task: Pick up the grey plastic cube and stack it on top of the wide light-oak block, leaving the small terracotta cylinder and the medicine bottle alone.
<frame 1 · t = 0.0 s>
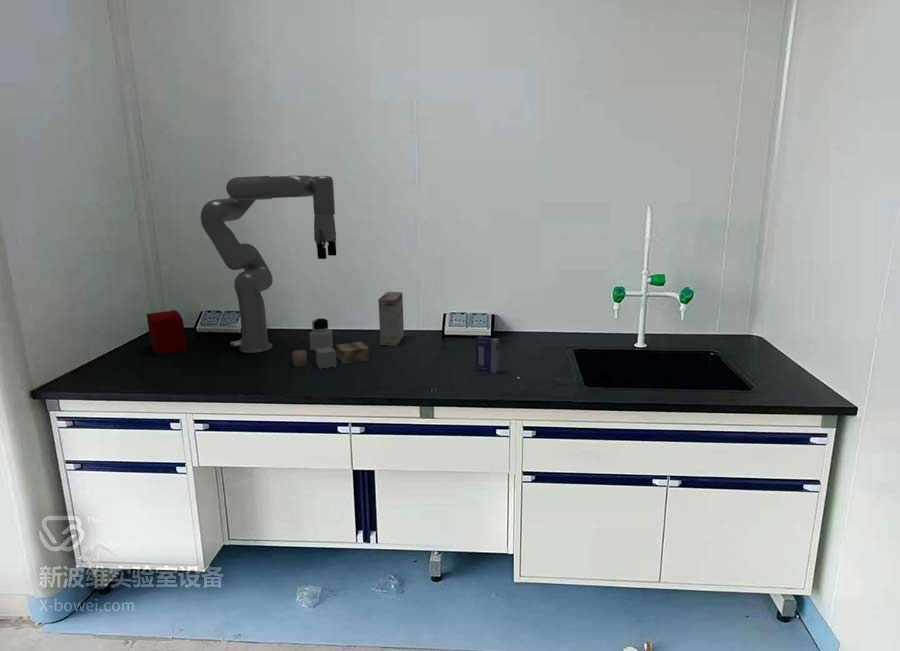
hand: (327, 257, 215), 37 cm above the worktop, tool pointing down, fingers open, 9 cm apart
terracotta cylinder: (300, 365, 209), on the worktop
walkman: (487, 371, 201), on the worktop
grey cube: (326, 365, 208), on the worktop
oak block: (353, 359, 216), on the worktop
coffeecake box: (392, 341, 239), on the worktop
medicine bottle: (321, 349, 229), on the worktop
fire alarm: (169, 349, 231), on the worktop
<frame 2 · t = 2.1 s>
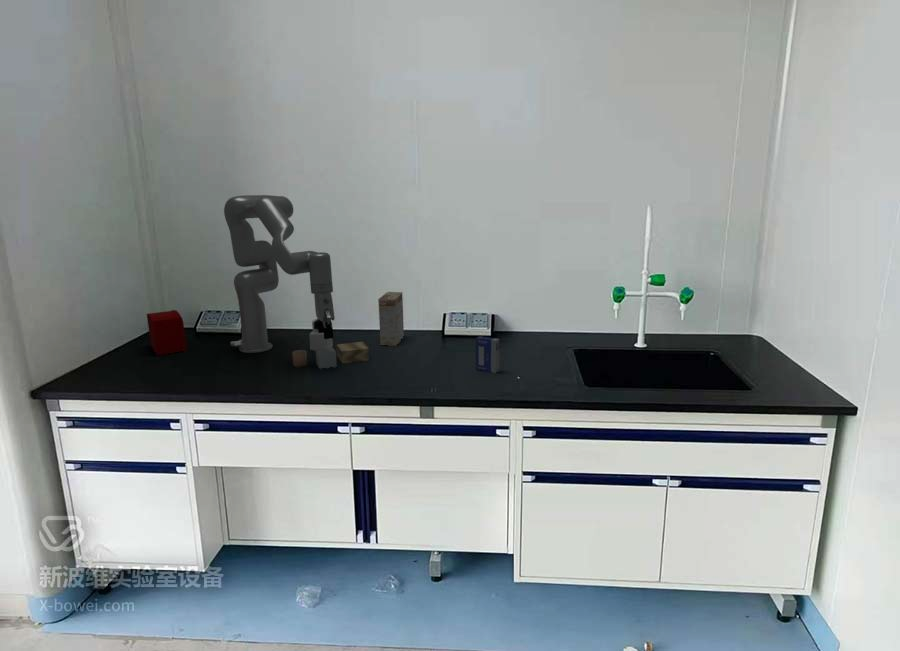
hand: (325, 335, 205), 11 cm above the worktop, tool pointing down, fingers open, 9 cm apart
nothing on the worktop moved.
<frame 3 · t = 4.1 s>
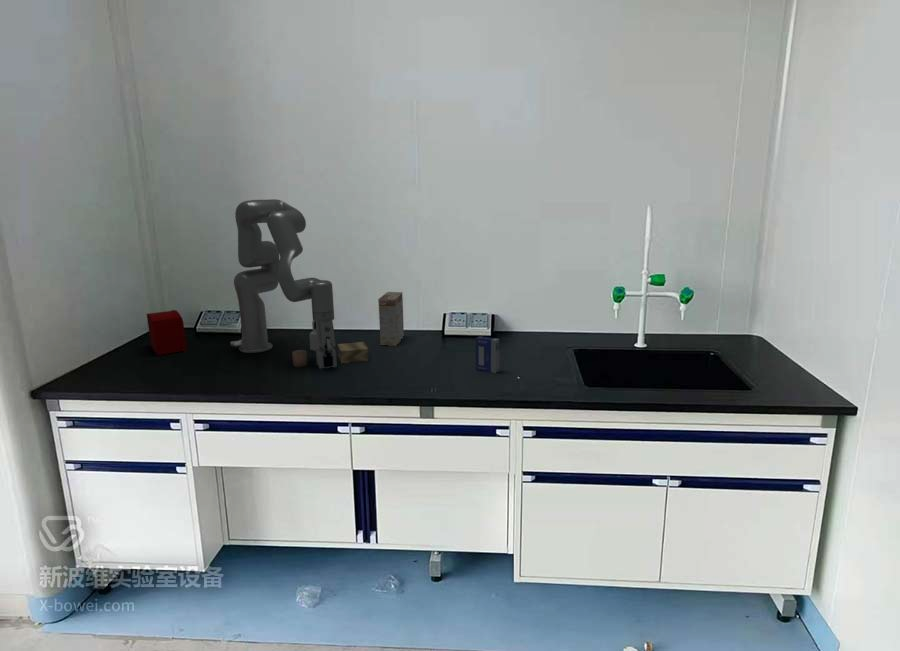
hand: (326, 363, 207), 1 cm above the worktop, tool pointing down, fingers closed on grey cube, 6 cm apart
grey cube: (326, 365, 208), on the worktop, touching gripper
everything else where it was.
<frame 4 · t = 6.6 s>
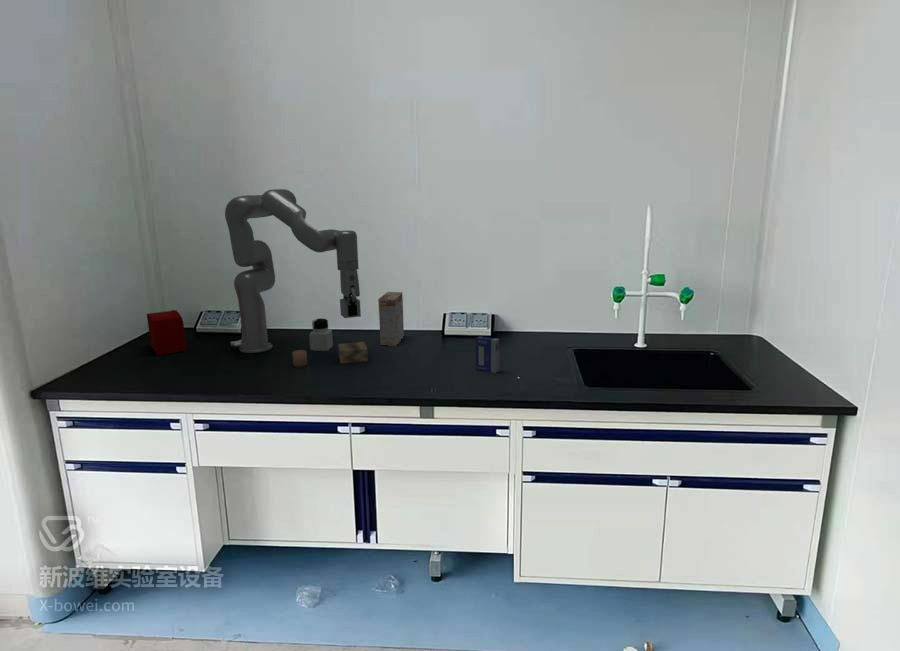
hand: (350, 313, 212), 17 cm above the worktop, tool pointing down, fingers closed on grey cube, 6 cm apart
grey cube: (350, 315, 212), point 17 cm above the worktop, touching gripper
everything else where it was.
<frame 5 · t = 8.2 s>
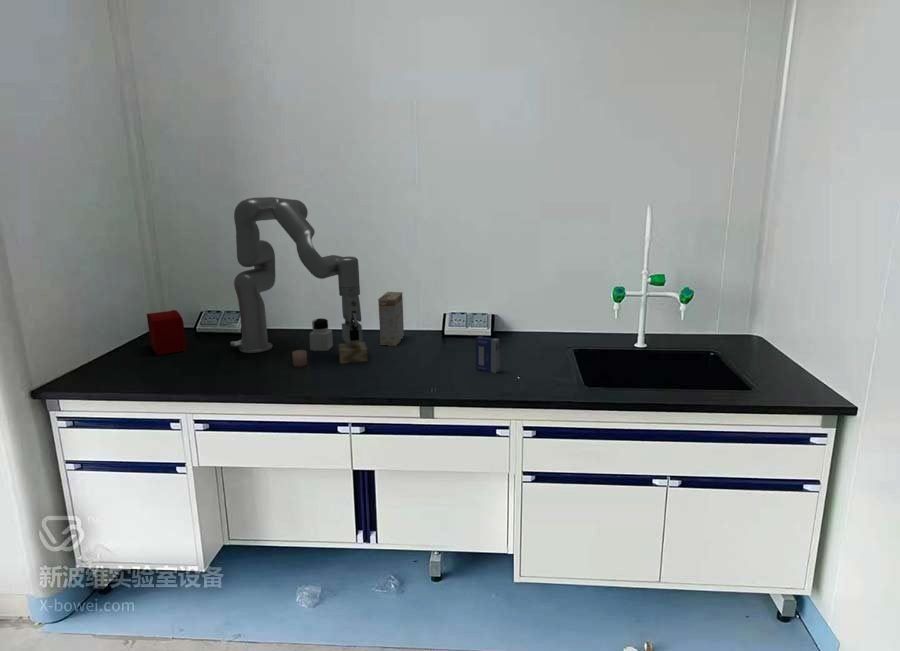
hand: (352, 337, 214), 8 cm above the worktop, tool pointing down, fingers closed on grey cube, 6 cm apart
grey cube: (352, 340, 214), point 7 cm above the worktop, touching gripper
everything else where it was.
when the fingers open (7 cm above the worktop, at t = 9.3 s): grey cube drops 1 cm, resting on oak block.
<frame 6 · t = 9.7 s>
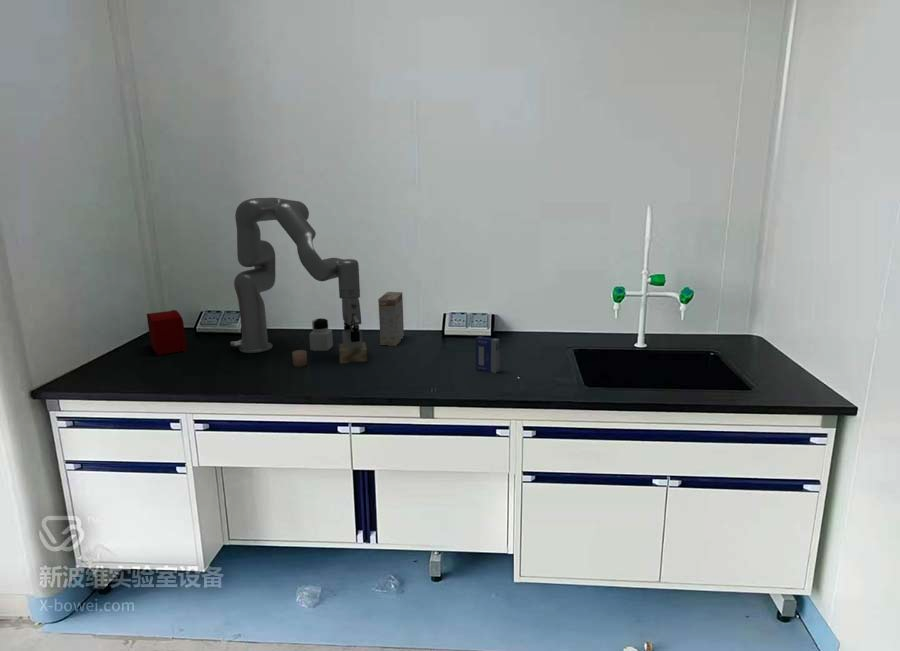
hand: (352, 338, 214), 8 cm above the worktop, tool pointing down, fingers open, 9 cm apart
grey cube: (352, 346, 215), point 5 cm above the worktop, touching oak block
oak block: (353, 359, 216), on the worktop, touching grey cube
everything else where it was.
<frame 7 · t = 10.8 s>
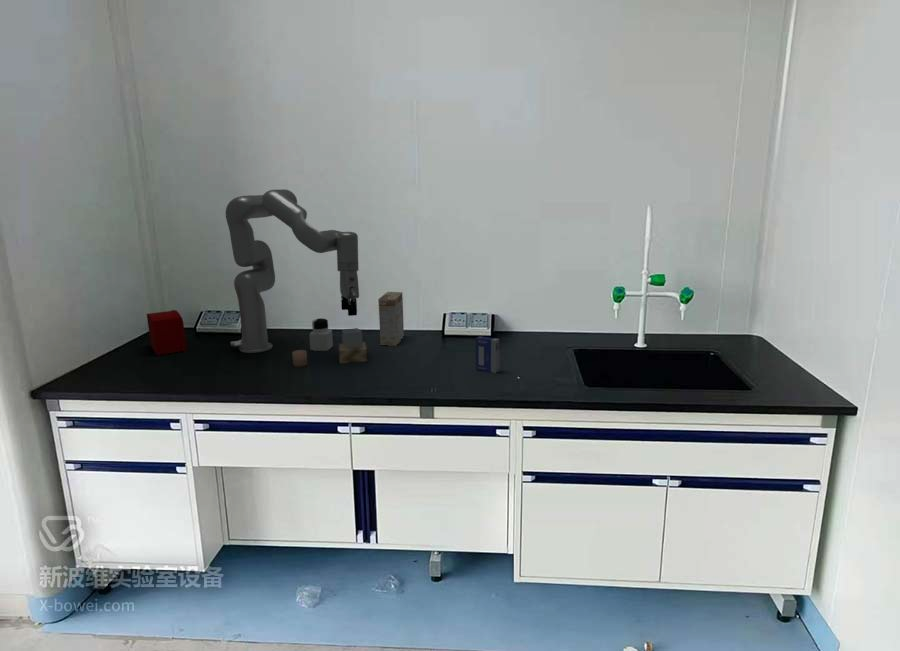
hand: (349, 312, 212), 18 cm above the worktop, tool pointing down, fingers open, 9 cm apart
grey cube: (352, 346, 215), point 5 cm above the worktop
oak block: (353, 359, 216), on the worktop
everything else where it was.
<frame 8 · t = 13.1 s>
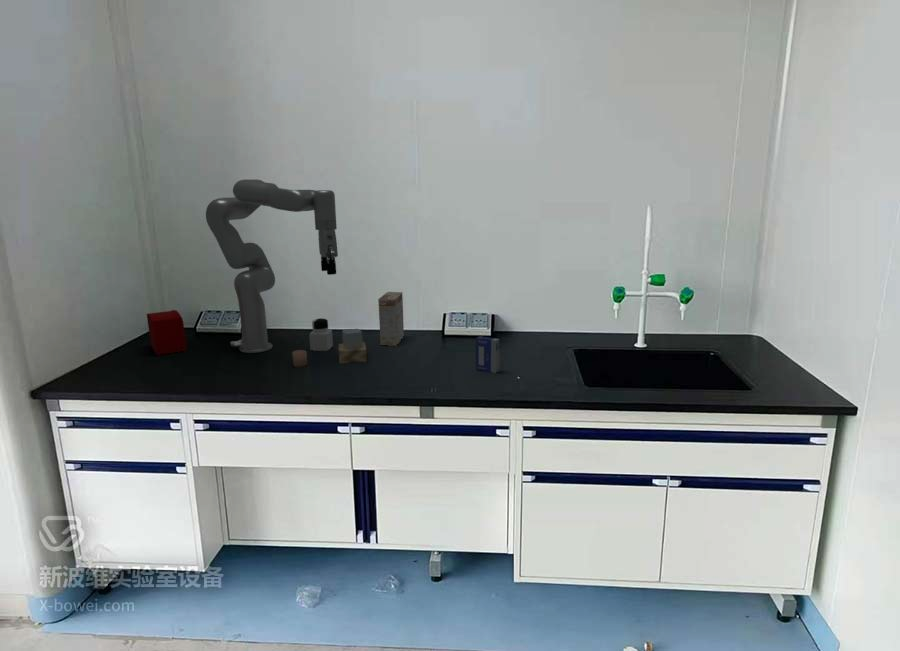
hand: (328, 272, 211), 32 cm above the worktop, tool pointing down, fingers open, 9 cm apart
grey cube: (352, 346, 215), point 5 cm above the worktop, touching oak block
oak block: (352, 359, 216), on the worktop, touching grey cube
everything else where it was.
at the end: grey cube 0.2 cm from the oak block (horizontally); grey cube point 4.6 cm above the worktop; grey cube tilted 0° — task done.
